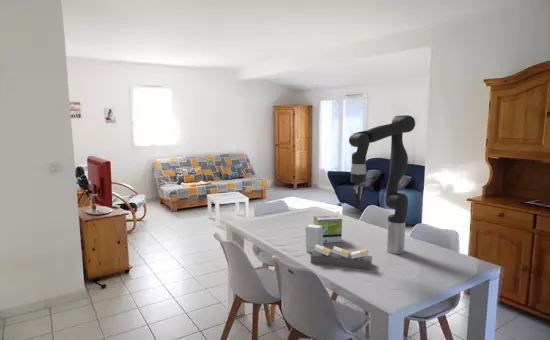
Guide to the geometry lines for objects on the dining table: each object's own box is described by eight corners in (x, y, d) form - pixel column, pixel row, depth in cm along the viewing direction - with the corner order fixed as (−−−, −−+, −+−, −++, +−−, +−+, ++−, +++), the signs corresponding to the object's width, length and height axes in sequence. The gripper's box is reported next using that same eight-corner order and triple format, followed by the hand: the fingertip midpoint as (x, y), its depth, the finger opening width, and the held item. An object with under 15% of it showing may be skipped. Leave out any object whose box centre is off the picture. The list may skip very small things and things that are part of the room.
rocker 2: (333, 249, 195) (334, 245, 194) (348, 255, 192) (349, 251, 192) (331, 252, 191) (333, 248, 190) (347, 257, 189) (348, 253, 188)
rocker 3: (353, 255, 192) (351, 251, 192) (368, 252, 189) (367, 248, 189) (352, 258, 188) (350, 254, 188) (367, 255, 185) (366, 251, 185)
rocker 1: (315, 247, 198) (316, 243, 197) (329, 253, 195) (331, 249, 195) (313, 249, 194) (314, 246, 193) (328, 256, 192) (329, 252, 191)
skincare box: (323, 251, 212) (323, 225, 210) (318, 254, 207) (318, 228, 205) (310, 248, 216) (310, 223, 215) (305, 251, 212) (305, 225, 210)
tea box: (318, 244, 225) (318, 219, 223) (313, 239, 235) (313, 215, 233) (341, 242, 228) (342, 218, 226) (335, 237, 238) (336, 214, 236)
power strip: (314, 257, 203) (314, 247, 202) (371, 263, 193) (372, 253, 192) (310, 262, 195) (310, 252, 194) (370, 269, 185) (370, 259, 185)
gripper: (352, 170, 200) (352, 202, 202) (349, 174, 187) (348, 208, 190) (367, 171, 197) (366, 203, 200) (364, 174, 185) (363, 209, 187)
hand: (357, 205), depth 195 cm, fingers closed
